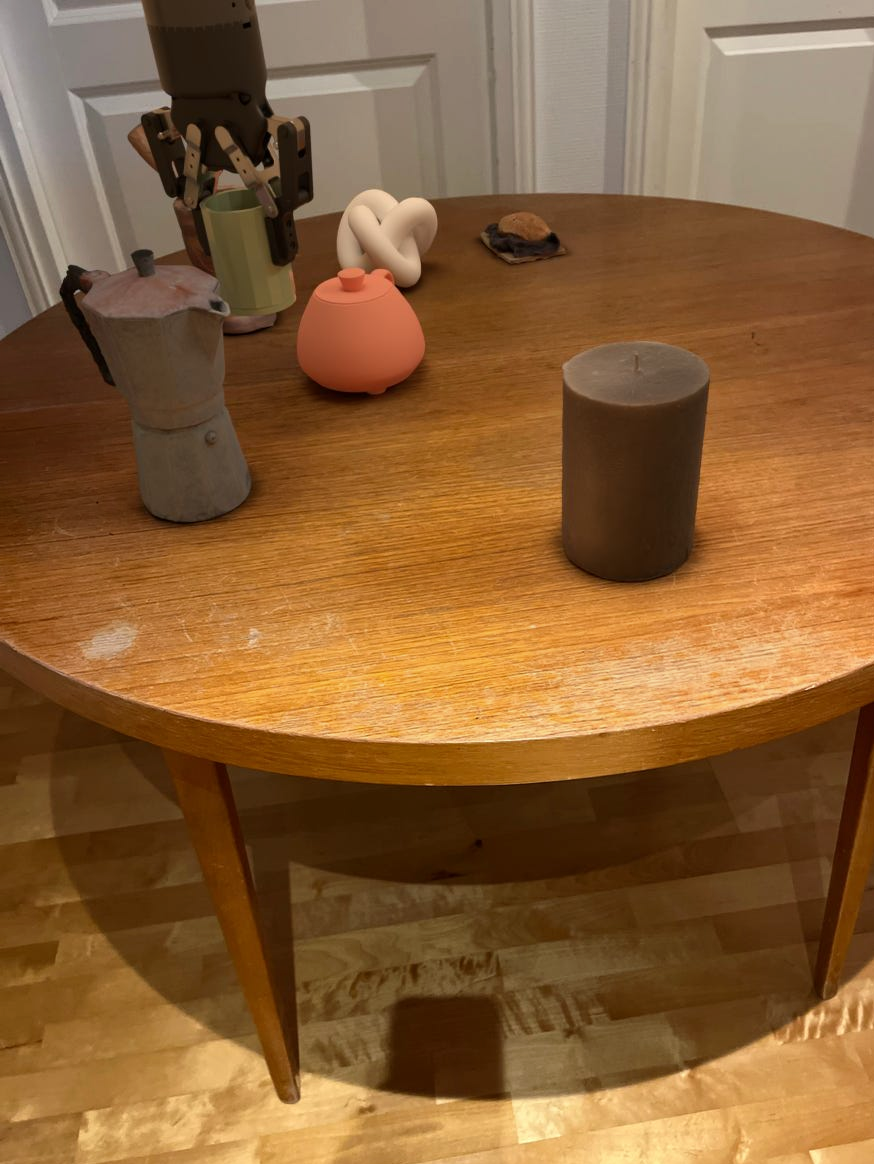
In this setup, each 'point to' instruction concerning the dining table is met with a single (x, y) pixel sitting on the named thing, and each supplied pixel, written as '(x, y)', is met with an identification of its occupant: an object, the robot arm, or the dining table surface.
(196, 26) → the robot arm
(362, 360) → the sugar bowl
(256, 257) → the cup
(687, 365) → the pillar candle
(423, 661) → the dining table surface
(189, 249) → the mortar and pestle
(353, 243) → the cream knot sculpture
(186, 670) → the dining table surface
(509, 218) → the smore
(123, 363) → the moka pot
